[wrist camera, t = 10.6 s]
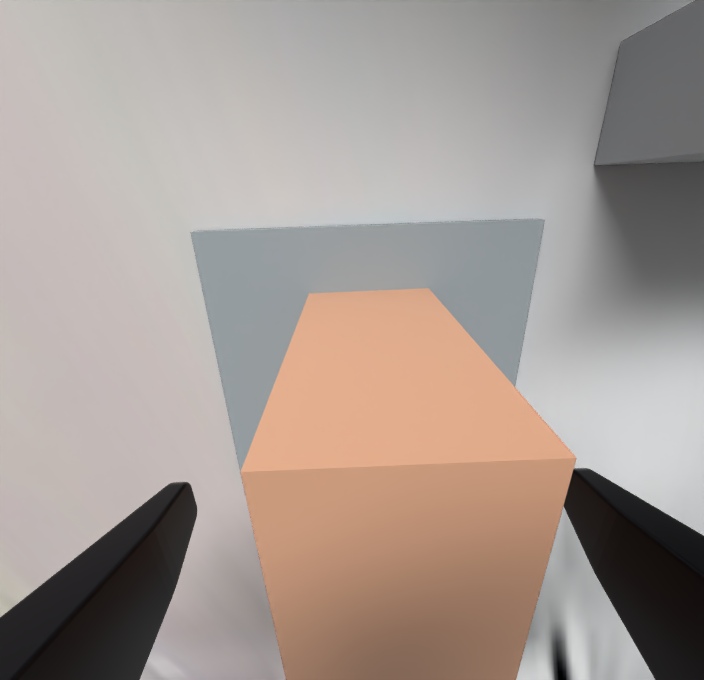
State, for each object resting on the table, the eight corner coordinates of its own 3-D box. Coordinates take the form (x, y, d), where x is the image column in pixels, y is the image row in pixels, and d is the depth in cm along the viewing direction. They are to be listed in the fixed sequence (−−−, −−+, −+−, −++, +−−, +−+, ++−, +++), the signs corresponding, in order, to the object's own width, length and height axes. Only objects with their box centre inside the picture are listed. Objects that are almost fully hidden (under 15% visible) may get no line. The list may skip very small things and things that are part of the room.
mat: (536, 218, 11) (544, 219, 11) (492, 477, 15) (497, 486, 15) (196, 230, 11) (190, 232, 11) (248, 486, 15) (245, 495, 15)
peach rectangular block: (428, 288, 11) (576, 457, 4) (420, 453, 14) (500, 734, 7) (308, 293, 11) (240, 471, 4) (324, 457, 14) (299, 741, 7)
